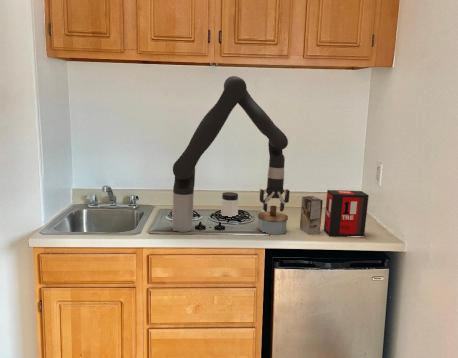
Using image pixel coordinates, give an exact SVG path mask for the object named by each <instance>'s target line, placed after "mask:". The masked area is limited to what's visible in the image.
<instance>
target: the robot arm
mask: <svg viewBox="0 0 458 358" xmlns="http://www.w3.org/2000/svg"><path fill="white" fill-rule="evenodd" d="M237 105H239V106H240V107H241V109H242V110H243V111H244V112H245V113H246V115H247V116H248V117H249V119H250V120H251V122H252V123H253V125H254V126H255V127H256V128H257V129H258V130H259V132H260V133H261V134H262V135H264V137H266V138H267V139H268V143H267V144H268V155H269V161H268V169H267V181H266V189H263V188H260V189H259V202H260V203H262V204H263V205H262V210H263V212H268V202H270V200H271V199H279V201H280V204H279V212H280V213H283V212H284V210H285V205H286V203H287V204H288V203H289V201H290V194H291V193H290V189H288V188H286V189H284V183H285V161H286V160H285V155H284V154H283V150H285V149H286V148H287V147H288V145H289V140H288V137H287V135H286V134H285V133H284V132H283V131H282V130H281V129H280V128H279V127H278V126H277V125H276V124H275V123H274V122H273V120H272V119H271V117H270V116H269V115H268V114H267V113H266V111H264V109H263V108H262V107H261V106H260V105H259V104H258V103H257V102H256V101H255V100H254V98H253V97H252V95H250V93H249V91H248V87H247V83H246V81H245V80H244V79H243V78H242V77H239V76H238V75H237V76H236V75H235V76H234V75H233V76H231V75H230V76H229V77H227V78H226V79H225V81H224V83H223V91H222V93H221V95H220V97H219V98H218V100H217V101H216V103H215V104H214V106H212V107H211V108H210V109H209V111H208V112H207V113H206V114H205V115H204V116H203V118H202V119H201V121H200V122H199V124H198V126H197V127H196V129H195V131H194V133H193V135H192V136H191V139H190V141H189V143H188V145H187V146H186V148H185V149H184V151H183V152H182V154H181V155H180V156H179V157H178V159H176V161H175V162H174V163H173V165H172V173H173V176H174V182H173V183H174V184H173V188H172V191H173V192H172V213H171V215H172V217H171V219H172V220H171V227H172V231H173V232H180V233H181V232H182V233H183V232H184V233H185V232H187V233H188V232H190V231H192V230H193V224H194V223H193V222H194V221H193V219H194V197H195V196H194V195H195V194H194V193H195V192H194V191H195V181H196V179H195V178H196V166H197V164H198V162H199V161H200V158H201V157H202V156H203V154H204V153H205V152H206V151H207V150H208V149H209V147H210V146H211V145H212V144H213V142H214V141H215V140H216V138H217V136H218V135H219V133H220V132H221V130H222V129H223V127H224V125H225V124H226V122H227V120H228V118H229V116H230V114H231V113H232V111H233V110H234V108H235V107H236V106H237ZM266 193H267V194H266ZM265 194H266V196H265ZM283 194H284V198H283V196H282V195H283ZM264 197H265V198H264Z"/></svg>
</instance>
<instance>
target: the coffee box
mask: <svg viewBox="0 0 458 358" xmlns="http://www.w3.org/2000/svg"><path fill="white" fill-rule="evenodd" d="M323 203H324V202H323V199H320V198H319V197H316V196H313V195H308V196H307V195H306V196H301V206H300V207H301V209H300V218H299V219H300V220H299V221H300V222H299V229H300V230H301V231H303V232H304V233H306V234H308V235H314V234H317V235H318V234H320V233H321V227H322V225H321V223H322V214H323V213H322V212H323Z"/></svg>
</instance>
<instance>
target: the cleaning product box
mask: <svg viewBox="0 0 458 358" xmlns="http://www.w3.org/2000/svg"><path fill="white" fill-rule="evenodd" d="M326 191H327V192H326V199H325V200H326V201H325V202H326V204H325V212H324V214H325V215H324V222H323V225H324V226H323V231H324V233H325V234H326V235H327V236H328V237H329V238H331V237H335V238H337V237H339V238H348V237H347V236H364V237H365V232H366V222H367V213H368V205H369V196H370V195H369V194H367V193H366V192H364V191H362V190H341V189H339V190H337V189H327V190H326Z"/></svg>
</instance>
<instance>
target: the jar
mask: <svg viewBox="0 0 458 358" xmlns="http://www.w3.org/2000/svg"><path fill="white" fill-rule="evenodd" d="M239 202H240V201H239V194H238V193H237V192H234V191H233V192H231V191H226V192H222V194H221V202H220V203H221V204H220V206H221V207H220V216H221V215H222V216H228V217H232V216H236V215H238V214H239ZM222 216H221V217H222ZM238 216H239V215H238Z"/></svg>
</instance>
